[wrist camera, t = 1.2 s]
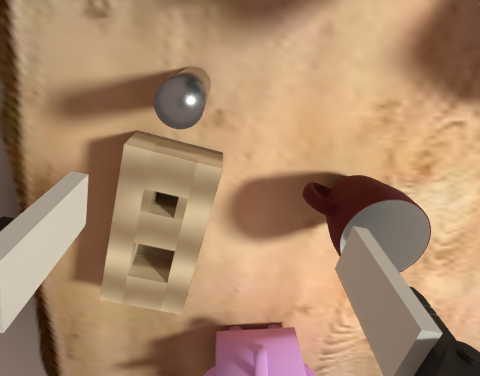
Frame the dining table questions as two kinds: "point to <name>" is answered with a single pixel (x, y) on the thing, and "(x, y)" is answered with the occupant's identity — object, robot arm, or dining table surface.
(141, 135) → the block
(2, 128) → the dining table surface
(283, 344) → the teapot
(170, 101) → the pin
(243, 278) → the dining table surface
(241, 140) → the dining table surface
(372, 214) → the mug
